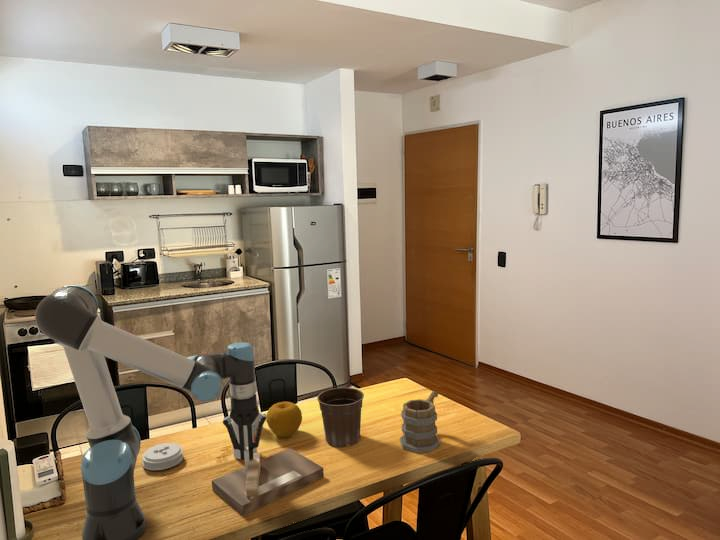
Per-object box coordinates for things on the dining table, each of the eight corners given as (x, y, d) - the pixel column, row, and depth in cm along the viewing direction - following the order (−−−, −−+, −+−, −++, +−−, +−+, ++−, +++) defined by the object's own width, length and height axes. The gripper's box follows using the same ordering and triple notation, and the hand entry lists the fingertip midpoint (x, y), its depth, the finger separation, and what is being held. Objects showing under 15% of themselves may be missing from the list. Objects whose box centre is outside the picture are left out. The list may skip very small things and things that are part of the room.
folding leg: (257, 495, 149) (256, 482, 148) (246, 496, 148) (245, 483, 148) (260, 464, 165) (260, 452, 165) (251, 465, 165) (250, 453, 165)
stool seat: (242, 515, 145) (242, 505, 145) (212, 489, 158) (211, 480, 158) (323, 476, 163) (323, 467, 163) (290, 456, 177) (289, 447, 176)
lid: (186, 451, 183) (185, 438, 182) (180, 470, 171) (178, 456, 170) (147, 455, 181) (146, 441, 180) (138, 475, 169) (137, 460, 168)
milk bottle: (251, 461, 175) (247, 403, 172) (229, 459, 176) (225, 402, 173) (260, 449, 182) (256, 394, 179) (239, 448, 184) (235, 393, 181)
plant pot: (313, 448, 182) (310, 403, 179) (327, 427, 197) (325, 386, 195) (359, 452, 178) (357, 406, 176) (369, 430, 193) (368, 388, 191)
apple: (269, 445, 185) (267, 414, 184) (265, 429, 198) (263, 400, 196) (305, 439, 189) (304, 408, 187) (299, 424, 201) (298, 395, 199)
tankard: (426, 456, 174) (425, 413, 171) (394, 446, 181) (392, 404, 179) (454, 433, 189) (454, 393, 187) (423, 424, 197) (423, 386, 195)
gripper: (219, 401, 153) (224, 477, 157) (264, 398, 155) (269, 473, 158) (222, 391, 161) (227, 465, 164) (265, 388, 162) (269, 461, 166)
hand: (247, 469), depth 161 cm, fingers closed
